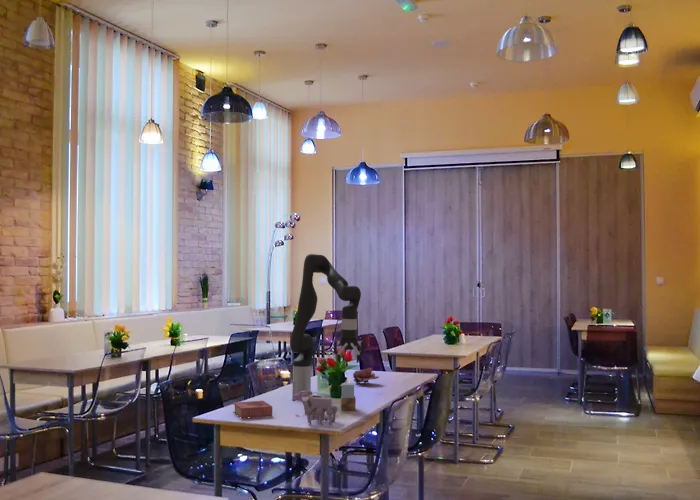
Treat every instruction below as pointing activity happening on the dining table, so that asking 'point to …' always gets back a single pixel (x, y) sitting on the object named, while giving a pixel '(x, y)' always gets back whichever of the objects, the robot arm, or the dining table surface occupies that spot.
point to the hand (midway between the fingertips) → (348, 362)
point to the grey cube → (347, 390)
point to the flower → (364, 375)
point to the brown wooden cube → (348, 404)
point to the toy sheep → (317, 406)
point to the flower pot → (311, 404)
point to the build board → (340, 408)
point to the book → (252, 409)
